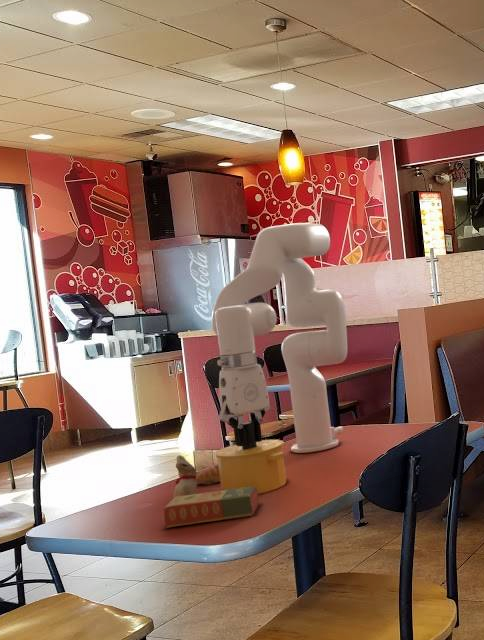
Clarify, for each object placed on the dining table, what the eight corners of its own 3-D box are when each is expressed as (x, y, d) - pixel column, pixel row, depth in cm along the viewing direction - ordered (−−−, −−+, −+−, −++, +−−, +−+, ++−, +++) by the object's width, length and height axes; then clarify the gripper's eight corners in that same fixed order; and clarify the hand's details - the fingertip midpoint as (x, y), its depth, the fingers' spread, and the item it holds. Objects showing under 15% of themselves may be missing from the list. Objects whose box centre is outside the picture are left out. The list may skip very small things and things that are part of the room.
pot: (250, 476, 176) (246, 441, 176) (307, 480, 166) (302, 443, 166) (201, 494, 165) (196, 456, 165) (258, 499, 155) (253, 459, 154)
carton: (177, 516, 148) (174, 495, 148) (259, 504, 151) (257, 483, 150) (165, 529, 140) (162, 506, 140) (253, 516, 142) (250, 494, 142)
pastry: (201, 487, 171) (199, 471, 171) (192, 483, 176) (190, 467, 176) (241, 477, 177) (239, 461, 177) (231, 474, 182) (229, 458, 182)
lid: (254, 443, 175) (251, 415, 175) (297, 445, 167) (294, 416, 167) (201, 459, 163) (197, 429, 163) (245, 462, 155) (241, 430, 155)
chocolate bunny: (209, 494, 164) (203, 449, 163) (181, 505, 157) (175, 458, 156) (190, 494, 166) (185, 449, 166) (162, 505, 159) (156, 459, 159)
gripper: (218, 366, 156) (229, 453, 156) (279, 355, 169) (289, 435, 170) (196, 367, 160) (206, 452, 160) (257, 356, 174) (266, 434, 174)
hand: (249, 442), depth 165 cm, fingers closed on lid, 3 cm apart
